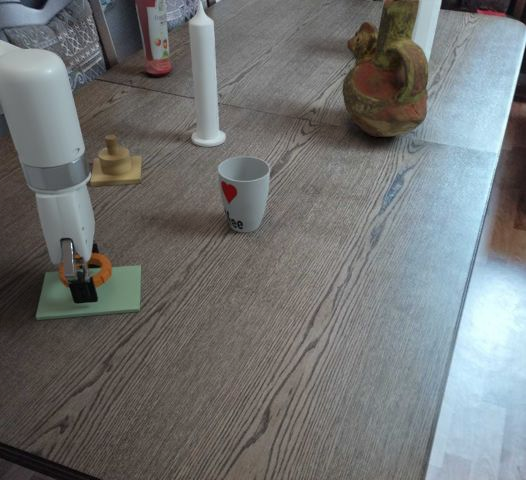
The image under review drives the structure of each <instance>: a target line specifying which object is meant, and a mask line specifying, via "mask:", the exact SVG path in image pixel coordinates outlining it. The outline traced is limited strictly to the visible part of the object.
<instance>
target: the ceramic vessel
mask: <svg viewBox="0 0 526 480" xmlns="http://www.w3.org/2000/svg"><path fill="white" fill-rule="evenodd" d="M382 6H383V10H382V9H381V12H382V15H381V14H380V19H381V20H380V19H379V26H378V28H377V26H376V25H375V24H374V23H373V22H371V21H364V22H362V23H361V24H360V26H359V29H358V30H356V31H355V33H354V36H352V37H351V38H349V39H348V40H347V42H346V47H347V49H348V50H349V52H350V53H351V55H353V58H354V61H355V64H354V66H353V67H352V68H351V69H349V71H348V72H347V74H346V76H345V77H344V80H343V83H342V96H343V103H344V106H345V109H346V113H347V114H348V115H349V117H350V118H351V120H353V122H354V123H355V124H356V125H357V126H359V128H360V129H361V130H362V131H363V132H364V133H366V134H368V135H370V136H371V137H372V136H373V137H377V138H378V137H385V138H386V137H394V136H395V137H396V136H399V135H404V134H406V133H410V132H411V131H413V130H415V129H416V128H418V127H419V126H421V125H422V124H423V123H424V122H425V120H426V118H427V116H428V115H427V114H428V106H427V100H428V98H429V97H428V95H429V94H428V89H427V86H428V82H429V81H428V80H429V63H428V61H427V58H426V56H425V53H424V52H423V50H422V48H421V47H420V46H419V45H417V44H416V43H414V42H413V41H412V33H413V29H414V25H415V22H416V18H417V13H418V7H419V0H385V1H384V4H383V3H382Z"/></svg>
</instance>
